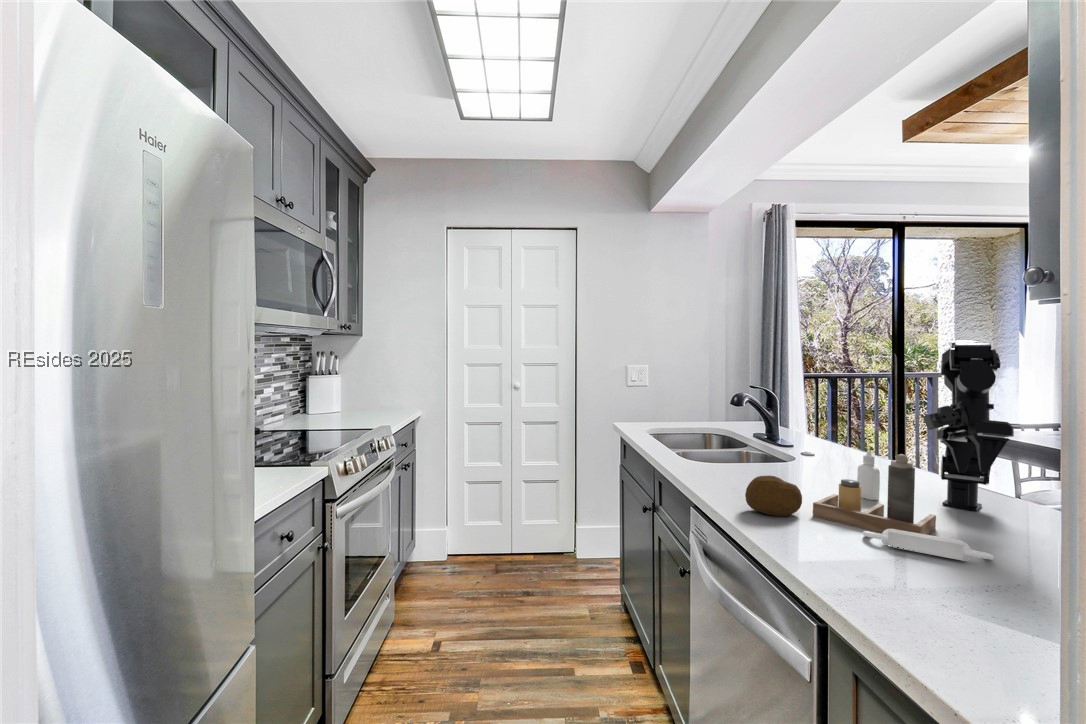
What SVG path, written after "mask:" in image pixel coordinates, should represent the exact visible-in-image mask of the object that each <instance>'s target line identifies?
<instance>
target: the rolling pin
mask: <svg viewBox="0 0 1086 724" xmlns="http://www.w3.org/2000/svg"><path fill="white" fill-rule="evenodd" d="M862 535H863V536H864V537H866V538H871V539H877V540H881V543H882V544H883V546H885V545H890V546H888V547H889V548H895V549H899V550H906V551H911V552H915V553H921V554H926V555H930V556H931V555H932V556H937V557H942V558H946V559H947V558H948V559H952V560H956V561H957V560H958V561H963V562H968V561H970V560H971V558H972V557H973V558H979V559H984V560H994V559H995V556H994V555H993V553H988V552H984V551H978V550H974V549H972V548H971V547H970V545H969V544H967V543H966V542H964V541H962V540H958V539H952V538H947V537H942V536H935V535H931V534H929V535H925V534H919V533H914V532H908V531H902V530H896V529H886V530H884V531H883V533H880V532H876V531H869V530H865V531H862ZM892 546H894V547H892ZM897 547H899V548H897ZM903 548H904V549H903ZM908 549H909V550H908ZM913 550H914V551H913Z"/></svg>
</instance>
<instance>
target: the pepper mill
mask: <svg viewBox="0 0 1086 724" xmlns="http://www.w3.org/2000/svg"><path fill="white" fill-rule="evenodd" d="M913 465H914V462H910V461H909V458H908V455H905V454H903V453H900V454H897V455H896V456H895V460H891V461H890V464H888V466H887V467H888V469H887V470H888V473H887V474H888V475H887V476H888V477H887V506H886V507H887V508H886V509H887V511H886V513H887V514H886V516H887V517H886V518H890V519H895V520H899V521H904V522H908V523H913V524H915V520H914V518H915V486H916V485H915V483H916V482H915V481H916V479H915V478H916V468H915V467H914V466H913Z"/></svg>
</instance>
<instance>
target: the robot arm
mask: <svg viewBox="0 0 1086 724" xmlns="http://www.w3.org/2000/svg"><path fill="white" fill-rule="evenodd" d="M940 364H941V365H940V375H941V376H943V383H944V385H945V387H947V388H948V390H949V391H950V392H951V404H950V405H943V406H940V407H937V409H936V410H937V411H936V412H934V413H930V414H926V415H922V418H923V421H924V423H925V426H926V429H927V430H928V431H929V430H934V429H937V430H936V439H937V440H939V442H940V443H941V444H943V445H945V453H944V454H941V461H940V479H941V480H943V481H945V480H946V481H947V487H946V488H947V490H946V493H947V495H946V496H947V497H946V499H945V500H944V501H943V502H942V503H941V504H942V505H943V506H947V507H953V508H958V509H964V510H968V511H973V512H977V511H978V510H979V509H980V508H981V507H983V505H982V503H979V502H978V496H979V494H978V493H979V491H978V490H979V484H980V485H984V486H987V485H989V484H990V475H991V474H990V473H991V468H992V466H993V465H994V463H995V460H996V459H997V458H998V456H999V455H1000V453H1001V452H1002V450H1003V448H1004V447H1005V446H1006V444H1007V442H1008V443H1009V442H1010V438H1013V437H1015V434H1014V431H1015V430H1014V429H1015V428H1014V426H1013V425H1011V423H1009V421H1002V420H1001V421H999V420H990V411H991V410H994V409H995V404H993V403H990V389H992V387H993V385H994V384H995V382H996V378H997V377H996V373H995V372H997V371H998V369H1000V368H1001V360H1000V355H999V353H998V352H997V350H996V348H992V345H991V343H986V342H985V343H979V342H978V340H977V341H975V340H970V339H969V340H968V339H967V340H964V339H963V340H958V339H957V340H954V341H953V340H952V341H951V345H950V348H948V349H947V350H946V351H945V352H944V353H942V354H941V362H940Z"/></svg>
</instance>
